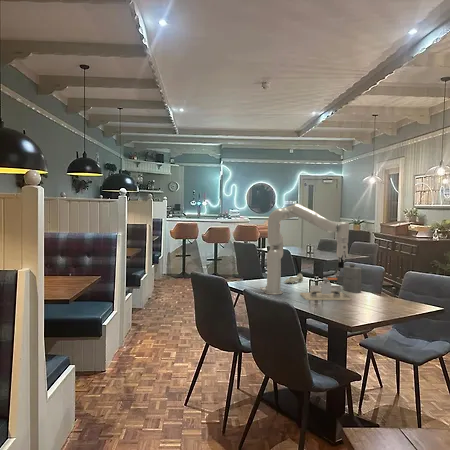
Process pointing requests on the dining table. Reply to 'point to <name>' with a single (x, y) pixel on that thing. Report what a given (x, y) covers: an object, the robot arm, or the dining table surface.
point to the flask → (352, 279)
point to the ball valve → (325, 292)
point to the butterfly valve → (299, 276)
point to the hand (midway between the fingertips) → (340, 267)
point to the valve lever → (338, 278)
